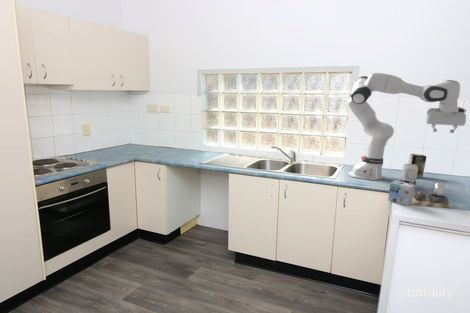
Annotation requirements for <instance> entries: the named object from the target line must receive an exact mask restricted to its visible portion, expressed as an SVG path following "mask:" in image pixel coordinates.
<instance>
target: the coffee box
mask: <svg viewBox="0 0 470 313" xmlns="http://www.w3.org/2000/svg"><path fill="white" fill-rule="evenodd" d="M426 161H427V156H426V155H425V154H417V153H410V154H409V157H408V163H407V164H414V165H417V167H418V172H417V178H416V179H423V178H424V172H425V167H426V163H427V162H426Z"/></svg>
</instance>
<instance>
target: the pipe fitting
mask: <svg viewBox="0 0 470 313" xmlns="http://www.w3.org/2000/svg"><path fill="white" fill-rule="evenodd" d="M445 187H446V184H445V183H443V182H435V185H434V190H433V193H434V195H433V196H434V197H439V198H443V195H444V192H445Z"/></svg>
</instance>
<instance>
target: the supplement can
mask: <svg viewBox="0 0 470 313" xmlns="http://www.w3.org/2000/svg"><path fill="white" fill-rule="evenodd" d="M417 172H418V167H417V165H414V164H408V163H405V164H404V165H403V168H402V173H401V179H400V182H404V183H409V184H413V185H415V187H414V189H416V183H417V179H418V178H417Z"/></svg>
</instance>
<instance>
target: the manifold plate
mask: <svg viewBox="0 0 470 313" xmlns="http://www.w3.org/2000/svg"><path fill="white" fill-rule="evenodd" d="M433 195H434V192H433V193H431V192H427V195H426V194H425V193H424V191H421V190H418V192H414V193H413V199H412V204H414V205H415V206H420V205H421V206H422V207H423V206H424V207H431V206H433V208H443V209H452V208H453V205H452V204H451V203H449V201H450V199H449V198H448V197H447V196H446V195H444V194H443V198H439V197H434V196H433Z"/></svg>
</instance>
